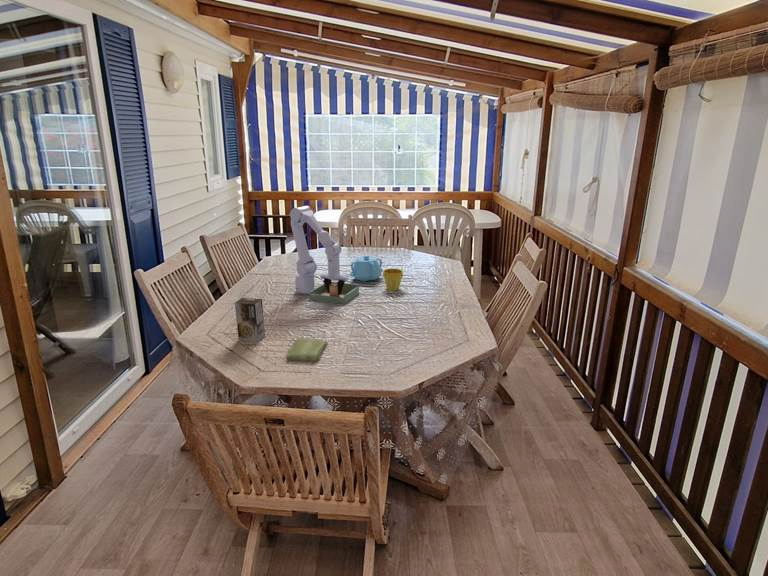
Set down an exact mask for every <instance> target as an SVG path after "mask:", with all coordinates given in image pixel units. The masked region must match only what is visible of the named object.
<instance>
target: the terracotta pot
mask: <svg viewBox="0 0 768 576" xmlns="http://www.w3.org/2000/svg"><path fill="white" fill-rule="evenodd" d="M329 293H330V296H333V297H340V295H338V285H337V284H330V285H329Z"/></svg>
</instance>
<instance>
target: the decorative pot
mask: <svg viewBox="0 0 768 576" xmlns="http://www.w3.org/2000/svg"><path fill="white" fill-rule="evenodd" d="M378 261H379V262H378ZM382 265H383V261H382V259H380V258H377V257H376V258H375V257H372V256H370V255H365V254H364V255H363V257H362V256H360V257H358V258H356V259H355V261H354V260H353V261H352V262H351V263H350V269H351V272H350V273H349V275H350V277H353V278H354V279H356V280H358V281H361V282H362V283H365V282H367V281H377V279H380V277H381V275H382V273H383V271H384V270H383V268H382Z"/></svg>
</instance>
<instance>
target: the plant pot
mask: <svg viewBox="0 0 768 576" xmlns="http://www.w3.org/2000/svg"><path fill="white" fill-rule="evenodd" d="M403 274H404V271H403V269H399V268H387V269H384V270H383V271H382V277H383V278H384V283H385V288H386V290H389V291H398V290H400V285H401V282H402V281H401V280H402V279H403V278H404V277H403Z"/></svg>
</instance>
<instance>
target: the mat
mask: <svg viewBox="0 0 768 576" xmlns="http://www.w3.org/2000/svg"><path fill="white" fill-rule="evenodd" d="M336 305H337V303H334V302H326V301H318V300H313V302H311V303H310V304H308V305H307V306H304V309H311V310H319V311H327V312H328V311H329V310H330V309H332V308H333V307H335V306H336Z"/></svg>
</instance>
